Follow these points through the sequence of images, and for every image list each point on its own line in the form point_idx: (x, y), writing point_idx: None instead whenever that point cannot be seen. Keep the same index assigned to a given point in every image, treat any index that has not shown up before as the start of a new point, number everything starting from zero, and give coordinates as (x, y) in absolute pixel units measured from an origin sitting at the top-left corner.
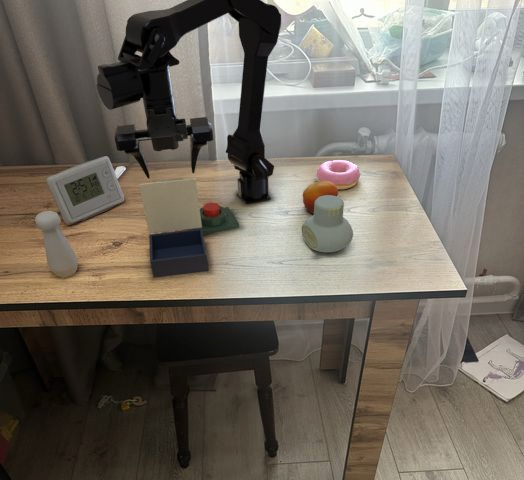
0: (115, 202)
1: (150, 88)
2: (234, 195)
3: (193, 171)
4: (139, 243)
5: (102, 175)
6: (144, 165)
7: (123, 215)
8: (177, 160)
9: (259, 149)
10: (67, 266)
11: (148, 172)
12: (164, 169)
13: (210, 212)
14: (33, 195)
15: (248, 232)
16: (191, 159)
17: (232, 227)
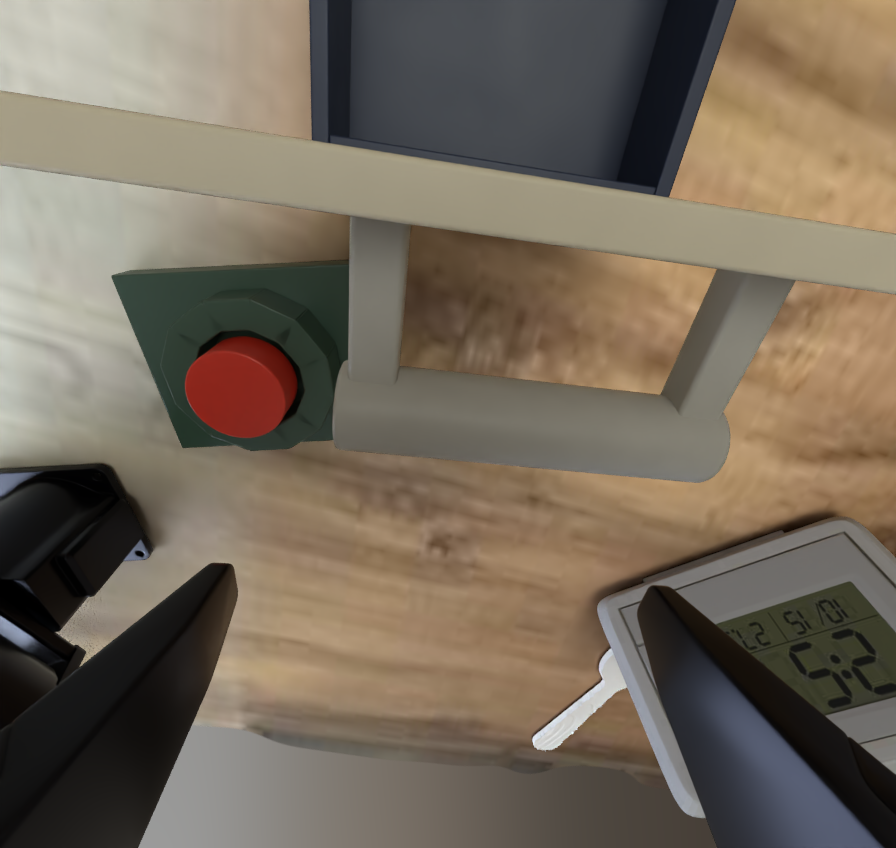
0: (640, 592)
1: None
2: (172, 541)
3: (206, 576)
4: (649, 302)
5: None
6: (792, 726)
7: (628, 526)
8: (371, 745)
9: None
10: None
11: (690, 635)
12: (418, 718)
13: (247, 349)
14: None
15: (69, 205)
16: (130, 728)
17: (161, 270)
